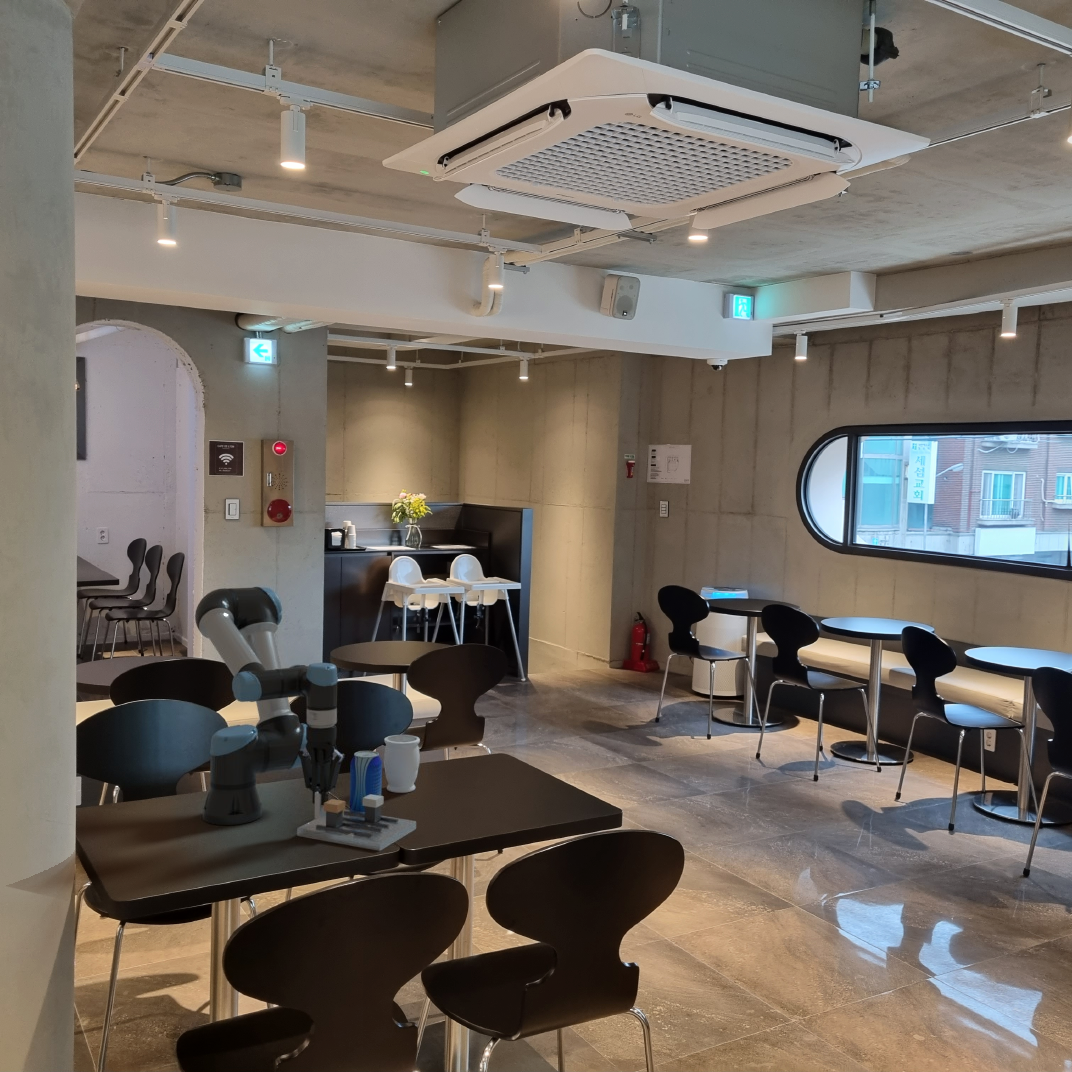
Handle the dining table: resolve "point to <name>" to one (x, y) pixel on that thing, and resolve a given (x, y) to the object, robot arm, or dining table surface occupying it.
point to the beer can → (364, 778)
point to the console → (359, 830)
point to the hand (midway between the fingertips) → (320, 816)
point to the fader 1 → (334, 812)
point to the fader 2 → (373, 807)
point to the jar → (401, 762)
